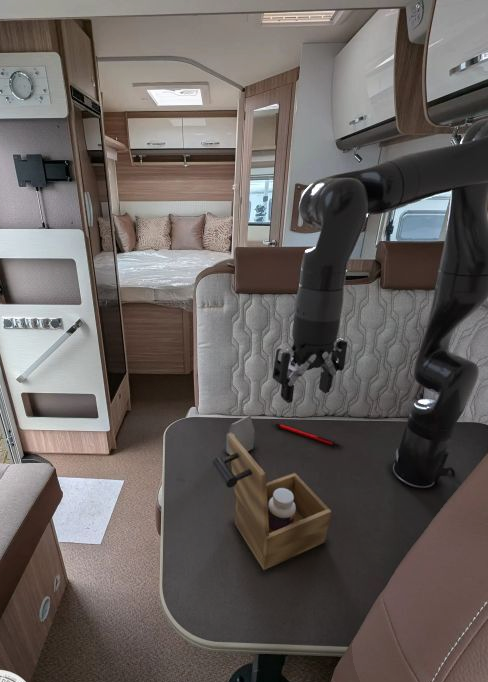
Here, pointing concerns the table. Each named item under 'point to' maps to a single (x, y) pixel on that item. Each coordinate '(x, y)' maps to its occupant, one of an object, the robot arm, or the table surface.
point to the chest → (291, 538)
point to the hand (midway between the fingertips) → (305, 395)
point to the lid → (245, 482)
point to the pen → (307, 434)
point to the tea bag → (242, 433)
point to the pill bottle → (281, 509)
